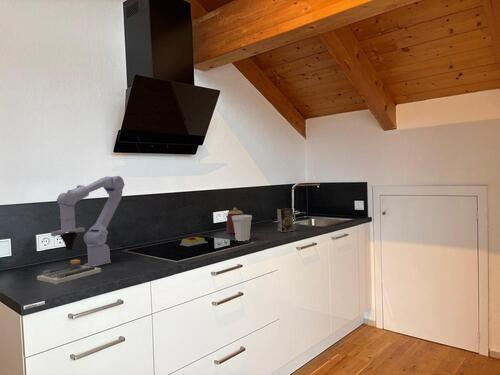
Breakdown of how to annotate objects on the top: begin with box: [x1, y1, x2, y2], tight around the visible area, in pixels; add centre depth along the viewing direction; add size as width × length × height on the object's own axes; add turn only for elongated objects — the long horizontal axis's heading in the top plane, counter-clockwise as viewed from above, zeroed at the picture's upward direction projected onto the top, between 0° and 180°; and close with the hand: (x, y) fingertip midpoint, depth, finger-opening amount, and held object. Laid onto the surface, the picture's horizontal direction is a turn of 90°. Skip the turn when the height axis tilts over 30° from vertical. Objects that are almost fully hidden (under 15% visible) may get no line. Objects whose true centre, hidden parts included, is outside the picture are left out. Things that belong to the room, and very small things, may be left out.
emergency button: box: [179, 236, 208, 247], centre depth 221 cm, size 9×4×15 cm
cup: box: [232, 214, 253, 241], centre depth 222 cm, size 12×12×15 cm
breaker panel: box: [36, 264, 102, 285], centre depth 155 cm, size 20×14×3 cm
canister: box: [225, 207, 244, 234], centre depth 257 cm, size 13×13×18 cm
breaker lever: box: [69, 259, 81, 271], centre depth 157 cm, size 3×3×4 cm
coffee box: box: [276, 208, 294, 232], centre depth 251 cm, size 9×6×16 cm
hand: (69, 249), depth 163 cm, fingers closed
